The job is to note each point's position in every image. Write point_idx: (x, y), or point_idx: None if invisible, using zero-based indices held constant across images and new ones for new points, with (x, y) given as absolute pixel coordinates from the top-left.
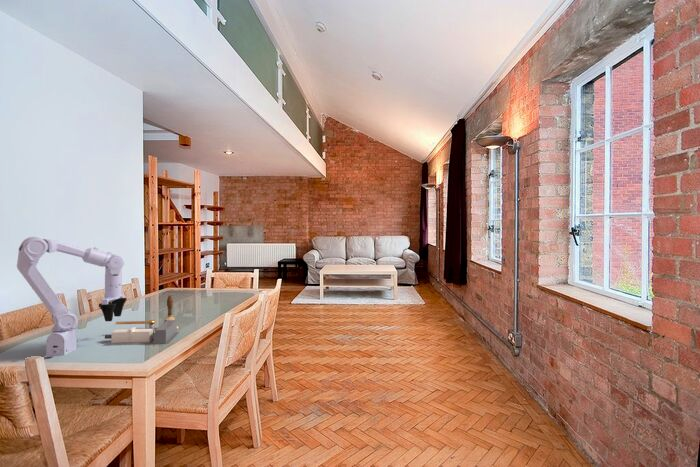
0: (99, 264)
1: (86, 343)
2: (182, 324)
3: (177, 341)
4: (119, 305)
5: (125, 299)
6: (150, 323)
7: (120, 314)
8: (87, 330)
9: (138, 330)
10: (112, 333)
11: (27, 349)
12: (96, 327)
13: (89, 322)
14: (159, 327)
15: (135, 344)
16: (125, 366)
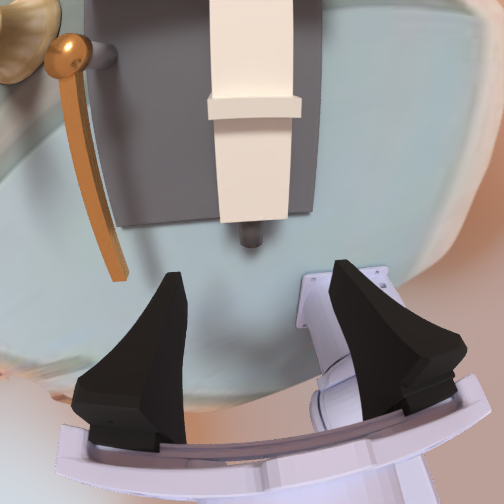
0: None
1: (238, 289)
2: None
3: None
4: (167, 362)
5: (120, 398)
6: (90, 50)
7: (177, 279)
8: (98, 344)
9: (256, 60)
10: (285, 210)
11: (281, 372)
12: (65, 336)
13: (44, 360)
14: None
15: (320, 56)
16: (500, 68)
